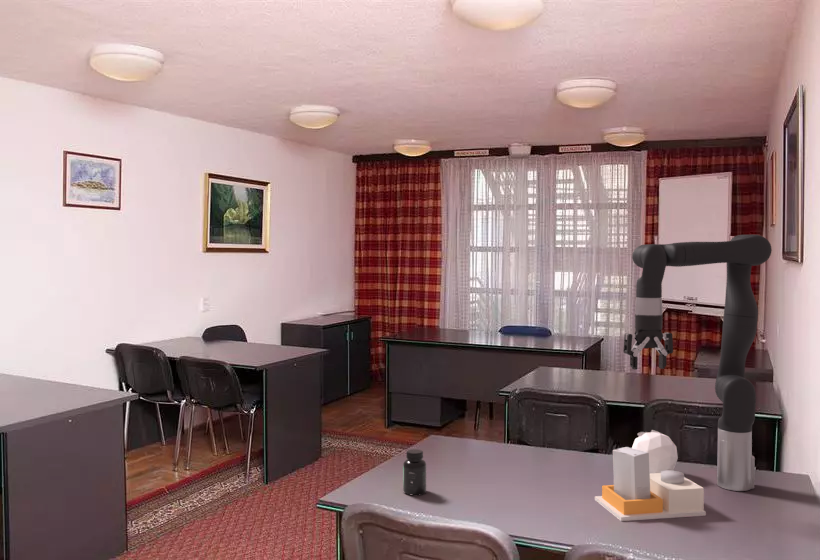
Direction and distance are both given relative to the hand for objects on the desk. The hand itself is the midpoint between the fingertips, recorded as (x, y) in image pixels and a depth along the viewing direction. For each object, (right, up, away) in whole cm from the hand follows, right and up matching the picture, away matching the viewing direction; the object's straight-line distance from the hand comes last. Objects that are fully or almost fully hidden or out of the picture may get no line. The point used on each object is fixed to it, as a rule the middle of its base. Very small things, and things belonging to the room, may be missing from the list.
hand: (648, 368), depth 201 cm
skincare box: (-9, -36, -13) cm, 39 cm away
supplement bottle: (-68, -36, +1) cm, 77 cm away
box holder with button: (-4, -37, -12) cm, 39 cm away
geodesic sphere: (+8, -36, +17) cm, 40 cm away
